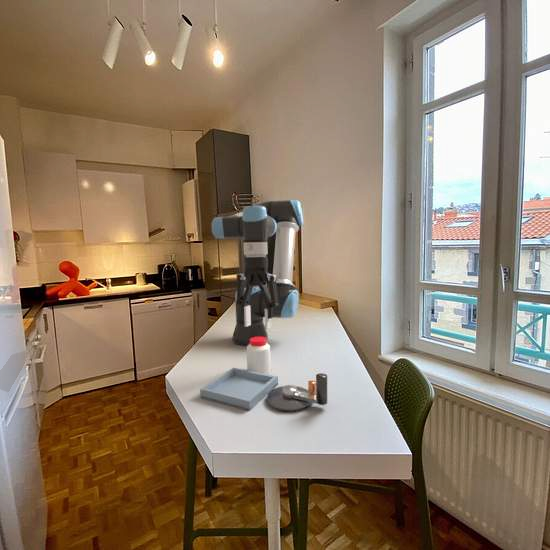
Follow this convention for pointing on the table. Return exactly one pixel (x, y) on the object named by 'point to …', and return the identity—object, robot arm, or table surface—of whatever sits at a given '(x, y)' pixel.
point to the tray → (239, 388)
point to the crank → (319, 398)
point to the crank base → (293, 404)
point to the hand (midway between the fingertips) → (257, 326)
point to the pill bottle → (258, 355)
